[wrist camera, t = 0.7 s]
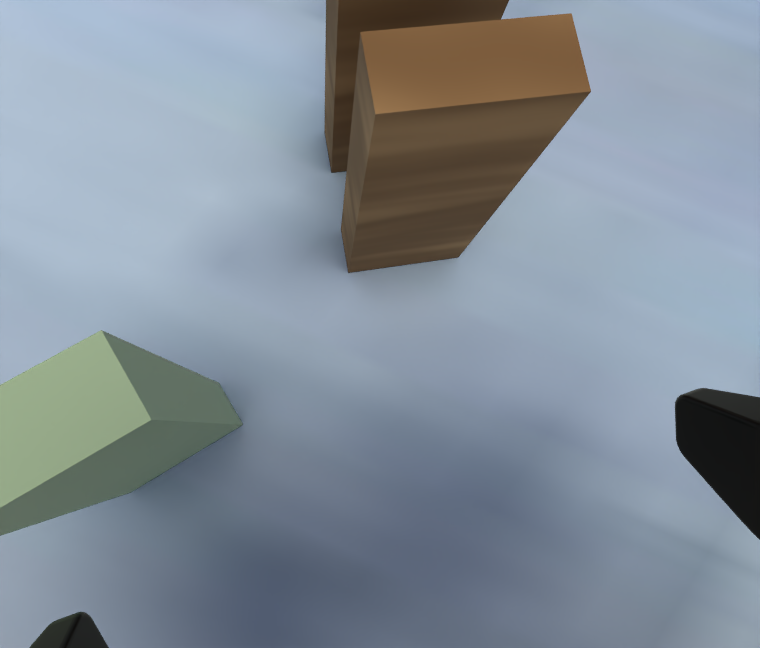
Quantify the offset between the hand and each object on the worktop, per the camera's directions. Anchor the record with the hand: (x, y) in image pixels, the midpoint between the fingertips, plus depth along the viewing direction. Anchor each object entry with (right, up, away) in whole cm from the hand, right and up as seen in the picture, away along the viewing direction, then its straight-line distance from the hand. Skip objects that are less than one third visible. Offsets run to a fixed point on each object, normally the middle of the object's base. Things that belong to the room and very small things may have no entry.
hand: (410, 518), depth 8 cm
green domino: (-9, -2, +15) cm, 17 cm away
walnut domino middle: (0, +6, +17) cm, 18 cm away
